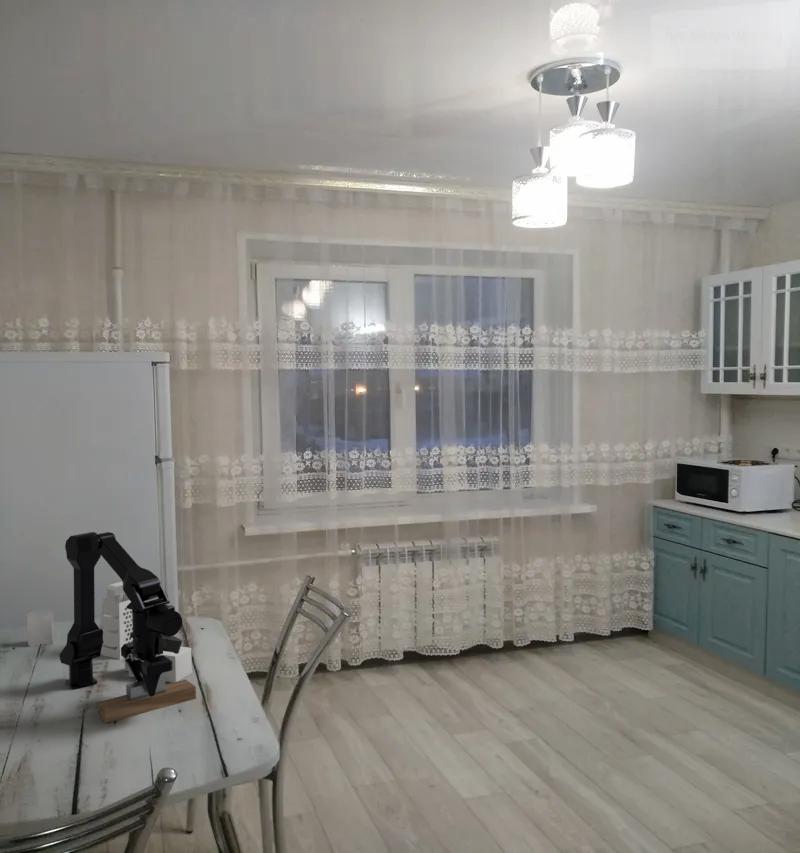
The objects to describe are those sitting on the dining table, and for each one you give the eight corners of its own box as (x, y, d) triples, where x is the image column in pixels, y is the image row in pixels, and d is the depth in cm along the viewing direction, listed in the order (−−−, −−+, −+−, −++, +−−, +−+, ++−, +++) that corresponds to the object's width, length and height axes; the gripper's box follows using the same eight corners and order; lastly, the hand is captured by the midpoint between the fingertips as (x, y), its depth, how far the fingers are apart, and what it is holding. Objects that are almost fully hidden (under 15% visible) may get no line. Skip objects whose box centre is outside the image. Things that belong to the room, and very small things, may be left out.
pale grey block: (52, 644, 236) (51, 611, 235) (28, 647, 233) (26, 614, 233) (53, 640, 239) (52, 608, 239) (29, 643, 237) (28, 610, 236)
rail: (97, 714, 184) (96, 702, 184) (186, 691, 198) (185, 679, 198) (105, 723, 179) (104, 710, 179) (195, 698, 193) (195, 686, 193)
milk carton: (175, 656, 203) (115, 649, 209) (176, 683, 203) (116, 675, 209) (191, 647, 209) (133, 640, 216) (192, 673, 210) (134, 666, 216)
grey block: (126, 709, 187) (126, 684, 187) (161, 700, 192) (160, 676, 192) (131, 713, 185) (130, 688, 184) (165, 703, 190) (164, 679, 189)
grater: (149, 648, 230) (147, 581, 229) (120, 659, 221) (117, 590, 220) (126, 642, 236) (124, 577, 235) (96, 653, 227) (94, 585, 226)
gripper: (192, 631, 185) (194, 695, 186) (163, 613, 200) (164, 673, 201) (146, 641, 178) (148, 707, 179) (119, 622, 193) (121, 684, 194)
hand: (147, 692), depth 188 cm, fingers open, 6 cm apart
